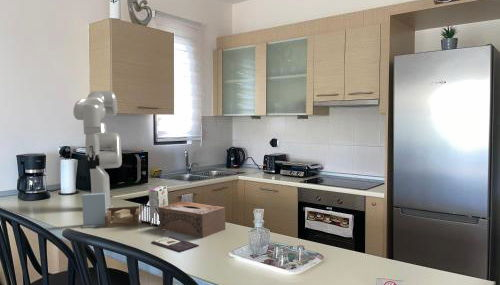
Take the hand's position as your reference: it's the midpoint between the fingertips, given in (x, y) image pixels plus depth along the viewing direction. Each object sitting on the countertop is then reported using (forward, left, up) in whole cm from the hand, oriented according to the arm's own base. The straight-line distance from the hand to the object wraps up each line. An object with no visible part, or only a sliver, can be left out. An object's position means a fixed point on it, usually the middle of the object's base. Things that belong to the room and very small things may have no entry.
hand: (94, 167), depth 193 cm
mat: (+1, 0, -27) cm, 27 cm away
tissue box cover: (+23, +43, -27) cm, 56 cm away
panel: (+1, 0, -26) cm, 26 cm away
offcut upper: (+4, +12, -23) cm, 26 cm away
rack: (+1, +12, -27) cm, 29 cm away
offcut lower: (+4, +12, -27) cm, 30 cm away
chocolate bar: (+43, +35, -27) cm, 62 cm away
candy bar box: (+7, +29, -27) cm, 40 cm away
